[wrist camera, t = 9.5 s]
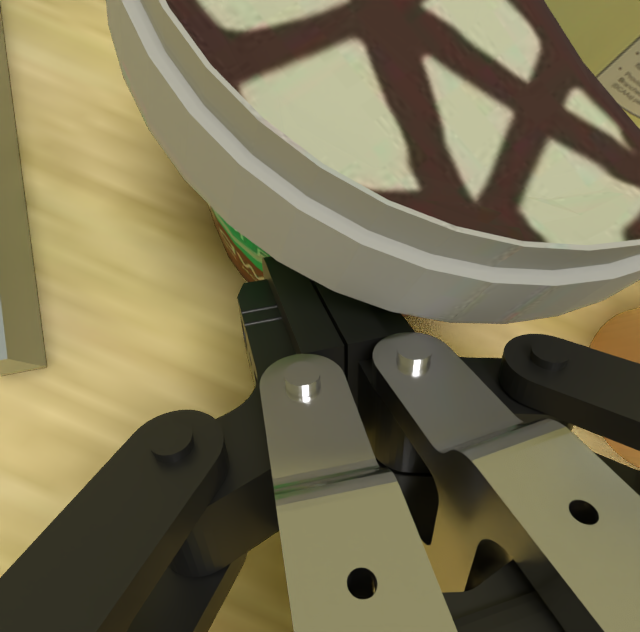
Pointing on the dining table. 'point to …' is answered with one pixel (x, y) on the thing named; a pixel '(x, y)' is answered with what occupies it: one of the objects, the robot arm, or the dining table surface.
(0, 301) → the frame
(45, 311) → the dining table surface
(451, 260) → the food container
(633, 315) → the peach rounded cylinder
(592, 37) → the supplement tub
